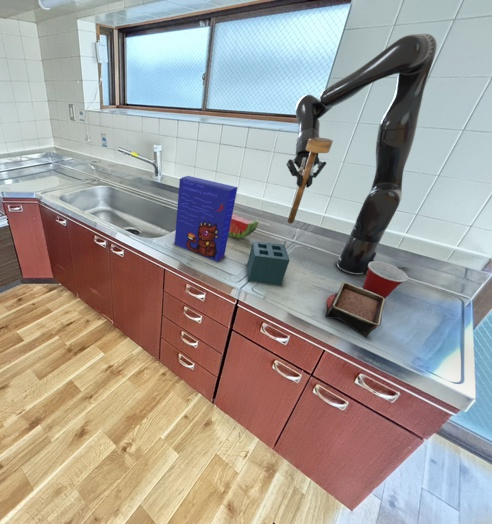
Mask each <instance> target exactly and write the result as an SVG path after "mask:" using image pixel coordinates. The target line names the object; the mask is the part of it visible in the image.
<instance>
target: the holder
mask: <svg viewBox="0 0 492 524" xmlns="http://www.w3.org/2000/svg"><path fill="white" fill-rule="evenodd" d="M289 263H290V257H289V253H288V250H287V248H286V245H285V244H282V243H280V244H279V243H273V242H272V243H271V242H265V241H255V240H253V241H252V243H251V246H250V252H249V255H248V259H247V264H246V270H247V271H246V272H247V281H248V282H252V283H253V282H254V283H260V284H266V285H272V286H279V287H282V285H283V281H284V278H285V277H286V276H285V275H286V272H287V269H288V267H289Z"/></svg>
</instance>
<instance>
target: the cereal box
mask: <svg viewBox="0 0 492 524" xmlns="http://www.w3.org/2000/svg"><path fill="white" fill-rule="evenodd" d="M237 192H238V186H233V185H229V184H227V183H221V182H217V181H211V180H208V179H204V178H201V177H195V176H190V175H186V176H183V177H180V178H179V182H178V194H177V195H178V196H177V208H176V209H177V210H176V218H175V219H176V221H175V233H174V245H175V246H177V247H180V248H182V249H184V250H187V251H190V252H192V253H194V254H196V255H199V256H201V257H204V258H207V259H209V260H211V261H213V262H217V263H218V262H219V261H220V260H222V259H224V258H225V255H226V250H227V244H228V239H229V236H228V234H229V229H230V224H231V219H232V214H234V208H235V203H236V199H237V198H236V197H237Z"/></svg>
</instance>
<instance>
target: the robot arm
mask: <svg viewBox="0 0 492 524" xmlns="http://www.w3.org/2000/svg"><path fill="white" fill-rule="evenodd" d="M437 47H438V42H437V39H436V38H435V37H434V35H432V34H430V33H411V34H408V35H405V36H402V37H400V38H398V39H397V40H396V41H394V42H393V43H392V44H390V45H389V46H388V47H386V48H385V49H384V50H382V51H381V52H380V53H378V54H377V55H375V57H373V58H372V59H371V60H370V61H367V62H366V63H365V64H363V66H361V67H359V68H358V69H356V70H355V71H353V72H351V73H350V74H348V75H346V76H344V77H343V78H341V79H340V80H337V81H336V82H334V83H333V84H331V85H330V86H328V87H325V89H323V90H322V91H321V93H320V97H319V98H320V99H319V98H317V97H315V96H314V95H312V94H305V95H304V96H302V97H301V98H300V99H299V100H298V101H297V103H296V107H295V116H296V121H297V124H298V132H297V138H296V143H295V157H294V158H293V159H288V160H287V162H286V166H287V169H288V171H289V172H290V175H291V176H292V177H296V186H297V187H298V188H299V187H301V185H302V179H303V172H304V169H305V166H306V163H307V160H308V157H309V154H310V152H309V151H307V150H305V149H306V146H307V143H308V139H309V138H315V137H318V138H320V126H321V122H320V120H319V119H320V118H322V117H323V116H324V115H325V114H326V113H328V112H329V111H330V110H331V109H333V108H334V107H335V106H337V105H339V104H341V103H343V102H345V101H347V100H349V99H351V98H352V97H354V96H355V95H357V94H358V93H360V92H361V91H362V90H363V89H365V88H367V87H368V86H369V85H371V84H373V83H375V82H377V81H380V80H382V79H384V78H388V77H390V76H393V75H397V79H396V85H395V90H394V94H393V95H392V98H391V101H390V103H389V104H388V106H387V108H386V110H385V111H384V113H383V115H382V117H381V119H380V123H379V126H378V129H377V135H376V140H375V141H376V142H375V174H374V177H373V182H372V185H371V188H370V191H369V192H368V194H367V196H366V197H365V199H364V200H363V204H362V206H361V208H360V211H359V212H358V215H357V218H356V220H355V223H354V225H353V227H352V229H351V232H350V234H349V237H348V239H347V241H346V243H345V245H344V247H343V250H342V252H341V253H340V255H339V256H338V261H337V263H336V268H337V269H339V270H340V271H341V272H343V273H346V274H349V275H352V276H353V275H354V276H361V275H367V272H368V264H369V262H372V261H375V258H376V255H377V252H376V250H377V248H378V246H379V244H380V242H381V240H382V238H383V236H384V234H385V232H386V230H387V228H388V227H389V225H390V223H391V222H392V219H393V217H394V216H395V214H396V212H397V210H398V208H399V206H400V203H401V201H402V197H403V196H402V195H403V193H402V191H403V178H404V177H403V176H404V171H405V167H406V164H407V162H408V159H409V156H410V153H411V150H412V146H413V144H414V141H415V136H416V131H417V127H418V122H419V115H420V111H421V107H422V102H423V96H424V93H425V88H426V84H427V81H428V78H429V74H430V71H431V69H432V65H433V63H434V60H435V56H436V53H437V50H438V49H437ZM326 165H327V161H323V162H322V161H321V160H320V158H319V153H317V155H316V157H315V160H314V163H313V166H312V169H311V172H310V175H309V178H308V181H307V184H306V187H305V188H308V189H309V188H310V187H311V186H312V185H313V180H314V179H316V178H317V177H318V175H319V174H320V173H321V172H322V170H323V169H324V168H325V166H326ZM315 166H317V170H316V171H315V172H314V170H315Z"/></svg>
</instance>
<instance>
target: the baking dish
mask: <svg viewBox="0 0 492 524" xmlns="http://www.w3.org/2000/svg"><path fill="white" fill-rule="evenodd" d="M385 299H386V298H385ZM385 299H384V298H383V297H381V296H379V295H377V294H375V293H373V292H370V291H368V290H365V289H363V287H360V286H357V285H355V284H352V283H348V282H341V285H340V287H339V289H338V291H337V293H335V294H331V295H329V296H328V297H327V299H326V309H325V314H324V318H330V319H339V320H340V321H342V322H343V323H344V324H346V325H348V326H349V327H350V328H352V329H354V331H356V332H358V333H359V334H360V335H362V336H363V337H365V338H366V339H367V338H368V336H369V335H370V334H371V333H372V332H373V331H374V330H375V329H377V328H378V327H379V326H381V324H382V322H383V321H382V320H383V313H384V312H383V311H384V307H385V303H386V300H385Z"/></svg>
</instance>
